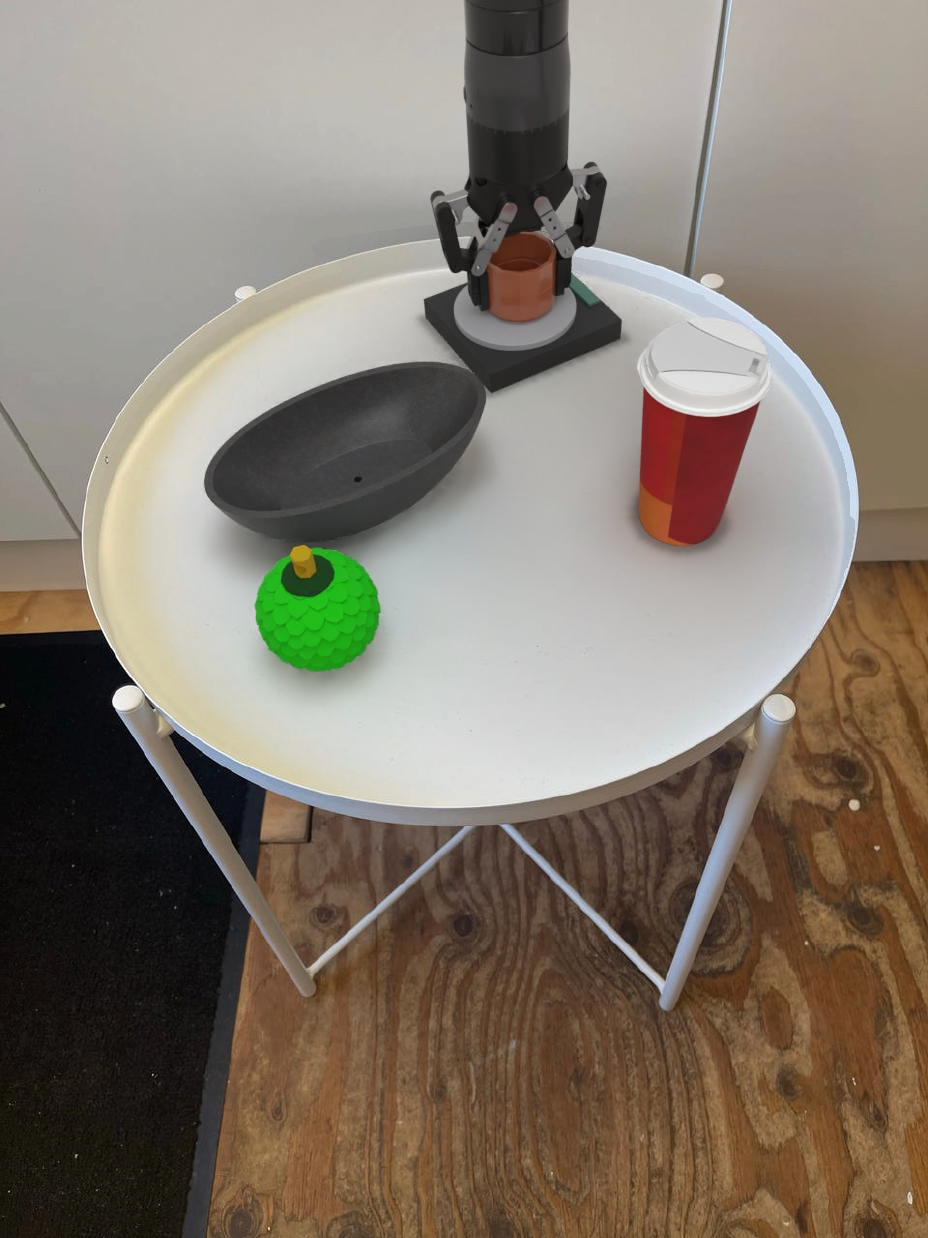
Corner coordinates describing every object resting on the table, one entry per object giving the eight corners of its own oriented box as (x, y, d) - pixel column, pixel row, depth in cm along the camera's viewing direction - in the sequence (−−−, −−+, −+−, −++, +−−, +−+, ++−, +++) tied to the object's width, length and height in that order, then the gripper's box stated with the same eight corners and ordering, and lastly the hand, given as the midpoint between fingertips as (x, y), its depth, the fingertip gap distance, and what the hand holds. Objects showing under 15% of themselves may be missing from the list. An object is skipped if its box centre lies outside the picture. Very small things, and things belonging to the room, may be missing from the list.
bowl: (522, 484, 75) (521, 424, 70) (261, 607, 69) (239, 552, 64) (445, 395, 81) (439, 335, 76) (201, 502, 76) (177, 444, 71)
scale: (548, 269, 91) (548, 244, 88) (620, 338, 84) (622, 313, 82) (425, 317, 87) (422, 293, 85) (491, 393, 81) (489, 368, 79)
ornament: (247, 664, 66) (207, 574, 58) (316, 582, 70) (288, 487, 62) (343, 714, 64) (315, 627, 56) (409, 626, 68) (392, 532, 59)
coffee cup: (748, 492, 73) (791, 328, 61) (717, 571, 69) (756, 412, 57) (642, 463, 75) (662, 299, 63) (605, 538, 71) (620, 378, 59)
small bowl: (543, 276, 86) (543, 224, 82) (563, 317, 82) (564, 265, 78) (477, 289, 85) (474, 238, 81) (495, 331, 82) (493, 279, 78)
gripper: (431, 143, 67) (448, 341, 80) (630, 106, 68) (614, 307, 82) (409, 92, 71) (429, 288, 85) (596, 58, 72) (586, 257, 86)
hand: (520, 297), depth 83 cm, fingers closed on small bowl, 6 cm apart
